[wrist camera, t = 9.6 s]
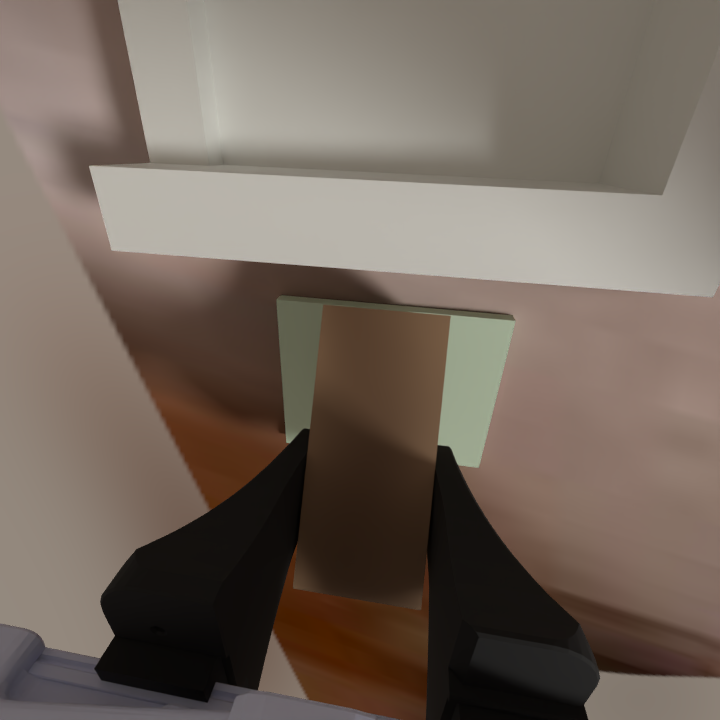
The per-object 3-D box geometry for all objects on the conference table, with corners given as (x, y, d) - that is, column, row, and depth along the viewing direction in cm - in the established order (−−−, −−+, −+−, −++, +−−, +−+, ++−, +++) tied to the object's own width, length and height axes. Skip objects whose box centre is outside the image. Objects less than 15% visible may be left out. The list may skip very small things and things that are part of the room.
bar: (439, 328, 15) (450, 315, 12) (416, 553, 15) (420, 610, 12) (340, 319, 16) (323, 304, 12) (317, 538, 16) (292, 588, 12)
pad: (512, 315, 16) (515, 320, 16) (477, 459, 20) (478, 467, 19) (280, 295, 17) (276, 299, 17) (289, 435, 21) (286, 442, 20)
